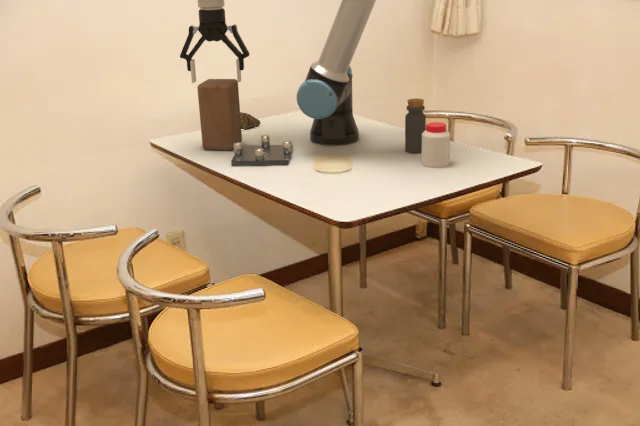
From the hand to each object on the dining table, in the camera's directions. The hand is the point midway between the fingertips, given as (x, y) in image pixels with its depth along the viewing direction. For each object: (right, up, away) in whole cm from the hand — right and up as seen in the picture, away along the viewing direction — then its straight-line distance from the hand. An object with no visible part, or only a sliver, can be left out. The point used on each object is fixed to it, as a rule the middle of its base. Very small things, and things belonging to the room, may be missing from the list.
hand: (216, 81), depth 232 cm
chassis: (+14, -23, -6) cm, 28 cm away
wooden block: (+1, -19, +7) cm, 20 cm away
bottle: (+58, -21, -5) cm, 62 cm away
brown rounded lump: (+4, -10, +31) cm, 33 cm away
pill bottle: (+63, -26, -17) cm, 70 cm away
